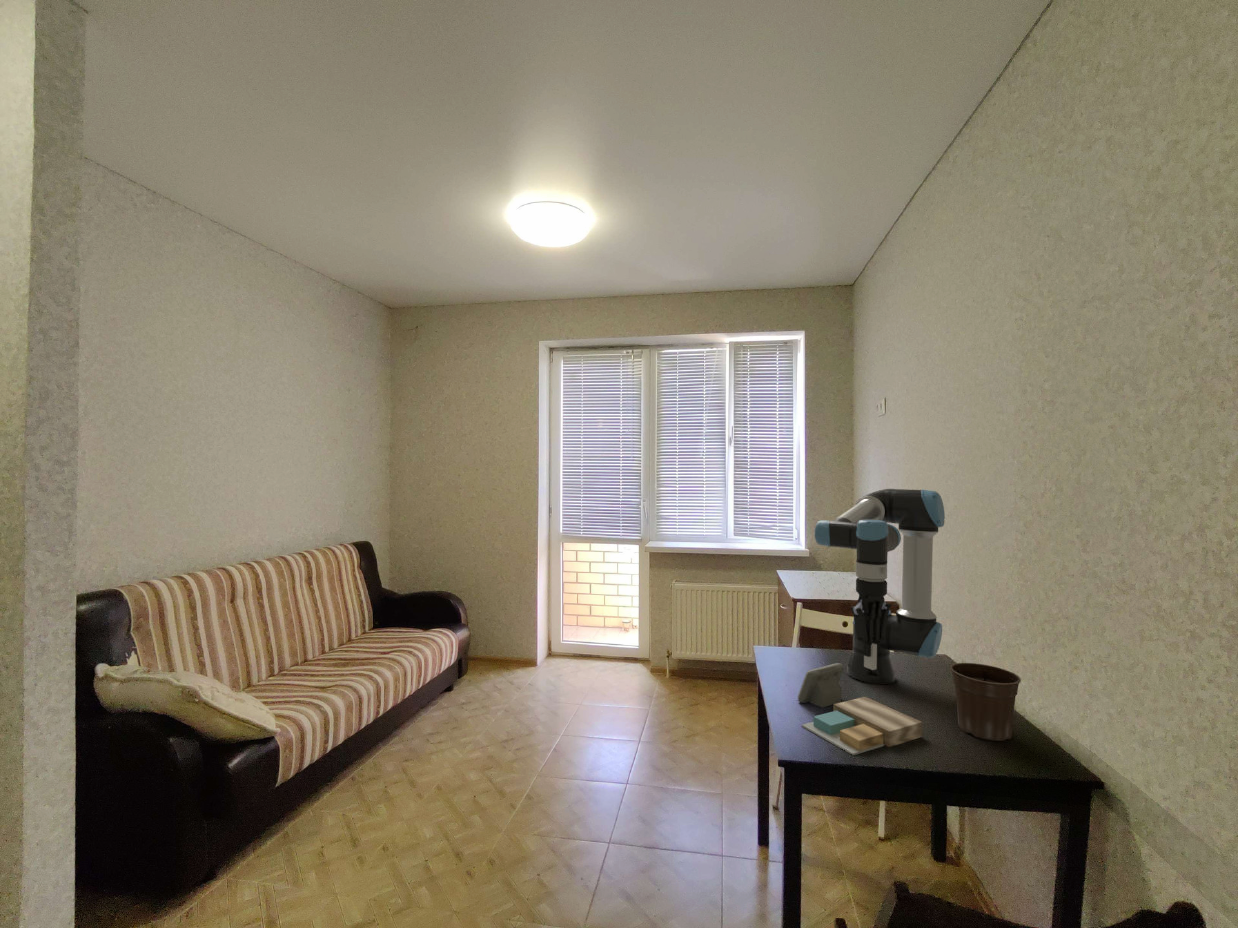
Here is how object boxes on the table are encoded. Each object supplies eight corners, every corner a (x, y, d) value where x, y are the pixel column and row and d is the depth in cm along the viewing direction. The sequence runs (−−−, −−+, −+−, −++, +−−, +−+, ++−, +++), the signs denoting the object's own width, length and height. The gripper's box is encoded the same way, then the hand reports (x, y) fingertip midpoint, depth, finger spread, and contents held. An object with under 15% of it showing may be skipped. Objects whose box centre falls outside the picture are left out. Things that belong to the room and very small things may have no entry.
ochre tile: (863, 733, 150) (863, 723, 150) (883, 743, 144) (883, 733, 144) (839, 739, 146) (839, 730, 146) (858, 750, 140) (859, 740, 140)
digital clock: (832, 691, 179) (833, 658, 179) (853, 703, 170) (853, 668, 170) (790, 698, 173) (790, 663, 173) (809, 710, 165) (810, 673, 165)
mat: (831, 718, 159) (831, 716, 159) (884, 745, 144) (884, 743, 144) (801, 726, 154) (801, 724, 154) (853, 755, 139) (853, 753, 139)
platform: (864, 710, 165) (864, 696, 165) (921, 736, 149) (922, 721, 149) (833, 718, 159) (833, 704, 159) (889, 747, 143) (889, 731, 143)
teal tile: (836, 719, 158) (836, 710, 158) (854, 728, 152) (854, 719, 152) (813, 725, 154) (813, 716, 154) (830, 734, 148) (830, 725, 148)
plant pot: (939, 715, 163) (940, 659, 163) (1001, 720, 160) (1002, 664, 160) (964, 742, 147) (965, 680, 147) (1032, 748, 144) (1033, 686, 144)
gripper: (866, 583, 142) (865, 676, 142) (900, 579, 148) (899, 668, 148) (842, 578, 148) (841, 666, 148) (875, 574, 154) (874, 659, 154)
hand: (870, 667), depth 148 cm, fingers closed
